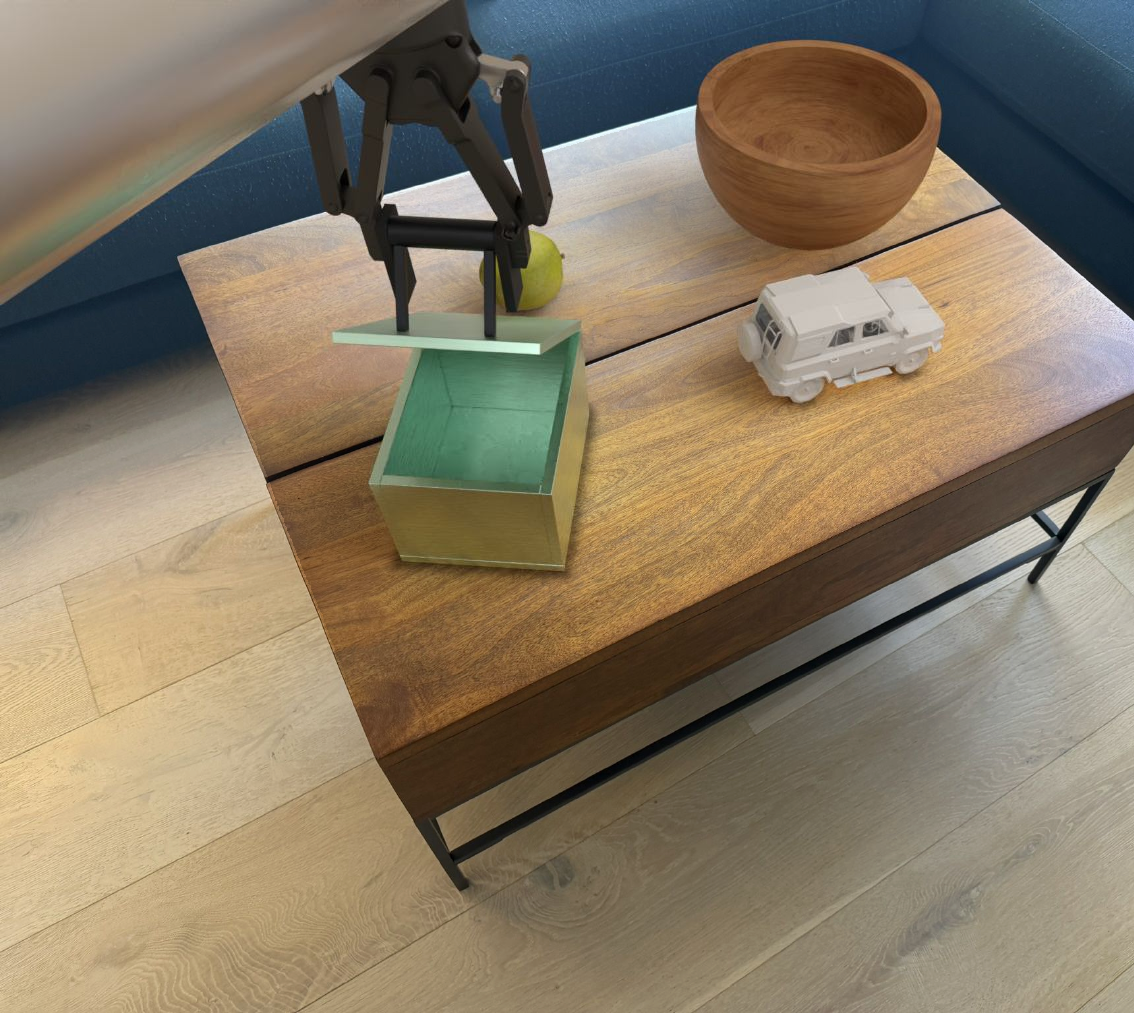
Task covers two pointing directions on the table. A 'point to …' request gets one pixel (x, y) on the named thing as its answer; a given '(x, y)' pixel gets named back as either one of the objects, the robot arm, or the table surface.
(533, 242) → the apple
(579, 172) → the table surface
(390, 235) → the freezer lid
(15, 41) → the robot arm
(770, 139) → the bowl
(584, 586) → the table surface
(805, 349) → the toy car
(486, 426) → the freezer
